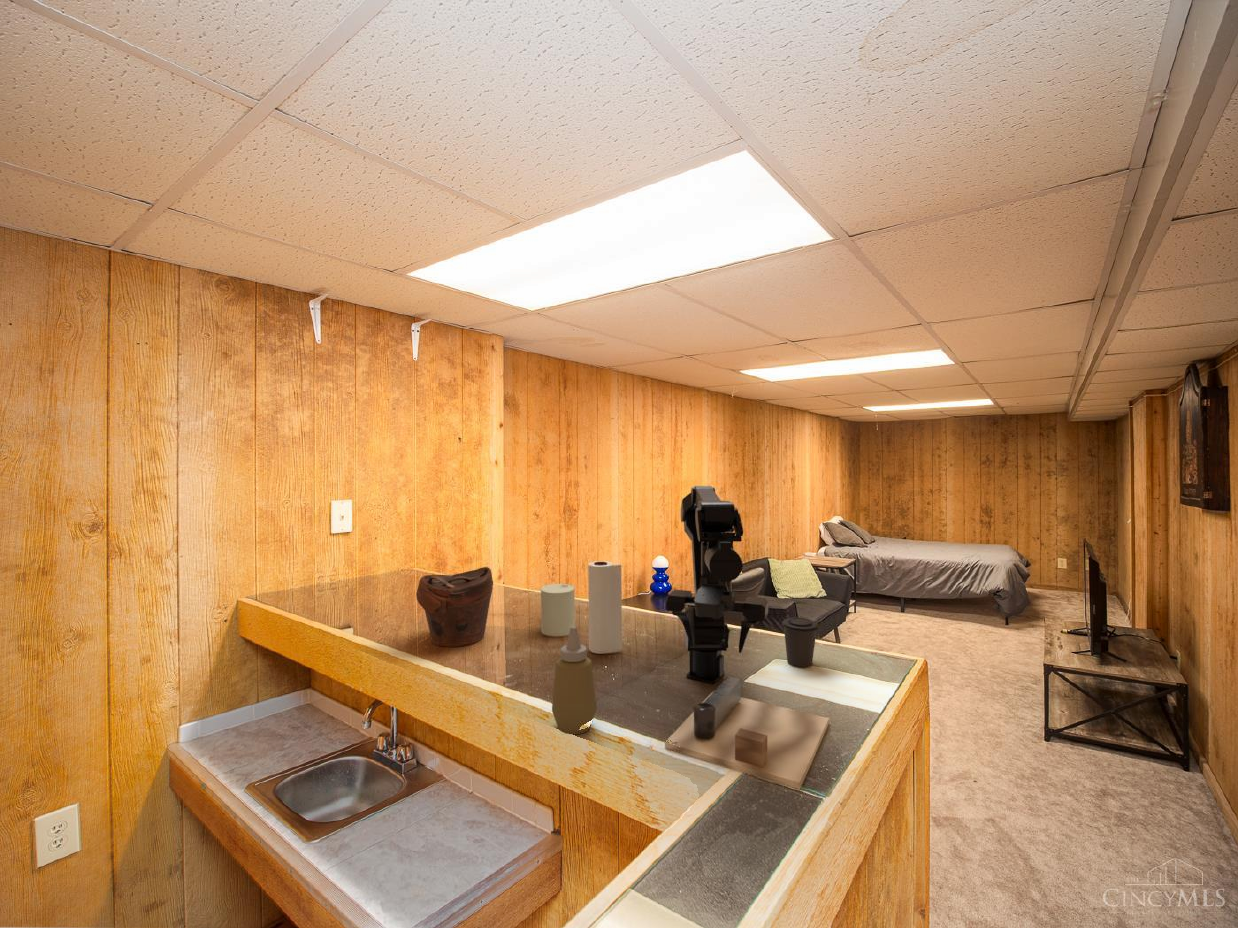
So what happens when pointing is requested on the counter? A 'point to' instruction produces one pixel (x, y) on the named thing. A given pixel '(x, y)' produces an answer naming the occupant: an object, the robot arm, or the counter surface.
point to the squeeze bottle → (573, 687)
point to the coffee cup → (800, 641)
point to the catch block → (751, 747)
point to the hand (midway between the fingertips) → (716, 648)
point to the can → (557, 609)
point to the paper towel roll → (605, 607)
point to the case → (456, 606)
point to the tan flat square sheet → (785, 728)
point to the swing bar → (716, 708)
